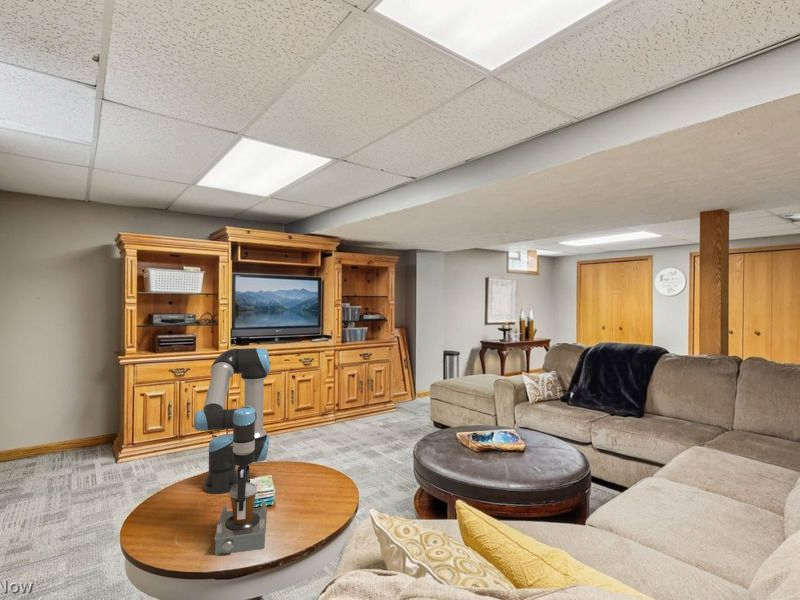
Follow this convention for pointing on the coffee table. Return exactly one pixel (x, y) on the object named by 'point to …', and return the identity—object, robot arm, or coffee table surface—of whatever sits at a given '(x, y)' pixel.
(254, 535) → the hot plate
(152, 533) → the coffee table surface
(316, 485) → the coffee table surface
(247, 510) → the disposable coffee cup
